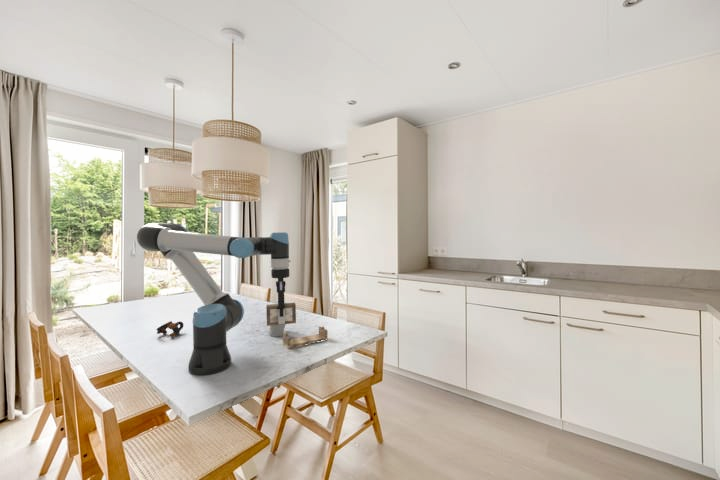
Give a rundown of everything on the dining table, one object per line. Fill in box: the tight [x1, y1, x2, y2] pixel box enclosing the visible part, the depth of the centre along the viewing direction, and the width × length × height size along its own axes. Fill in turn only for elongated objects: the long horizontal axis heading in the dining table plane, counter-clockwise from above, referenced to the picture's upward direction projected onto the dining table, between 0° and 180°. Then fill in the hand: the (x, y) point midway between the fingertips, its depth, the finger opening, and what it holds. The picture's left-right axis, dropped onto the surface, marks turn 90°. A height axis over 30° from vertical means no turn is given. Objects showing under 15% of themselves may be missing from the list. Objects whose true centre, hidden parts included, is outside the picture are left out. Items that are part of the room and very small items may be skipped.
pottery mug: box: [156, 320, 184, 339], centre depth 158 cm, size 12×10×8 cm
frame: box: [265, 302, 297, 327], centre depth 133 cm, size 12×4×8 cm, turn 105°
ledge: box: [282, 326, 328, 350], centre depth 148 cm, size 20×7×6 cm, turn 124°
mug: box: [268, 324, 287, 338], centre depth 161 cm, size 8×12×12 cm, turn 162°
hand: (281, 322), depth 133 cm, fingers closed on frame, 4 cm apart
